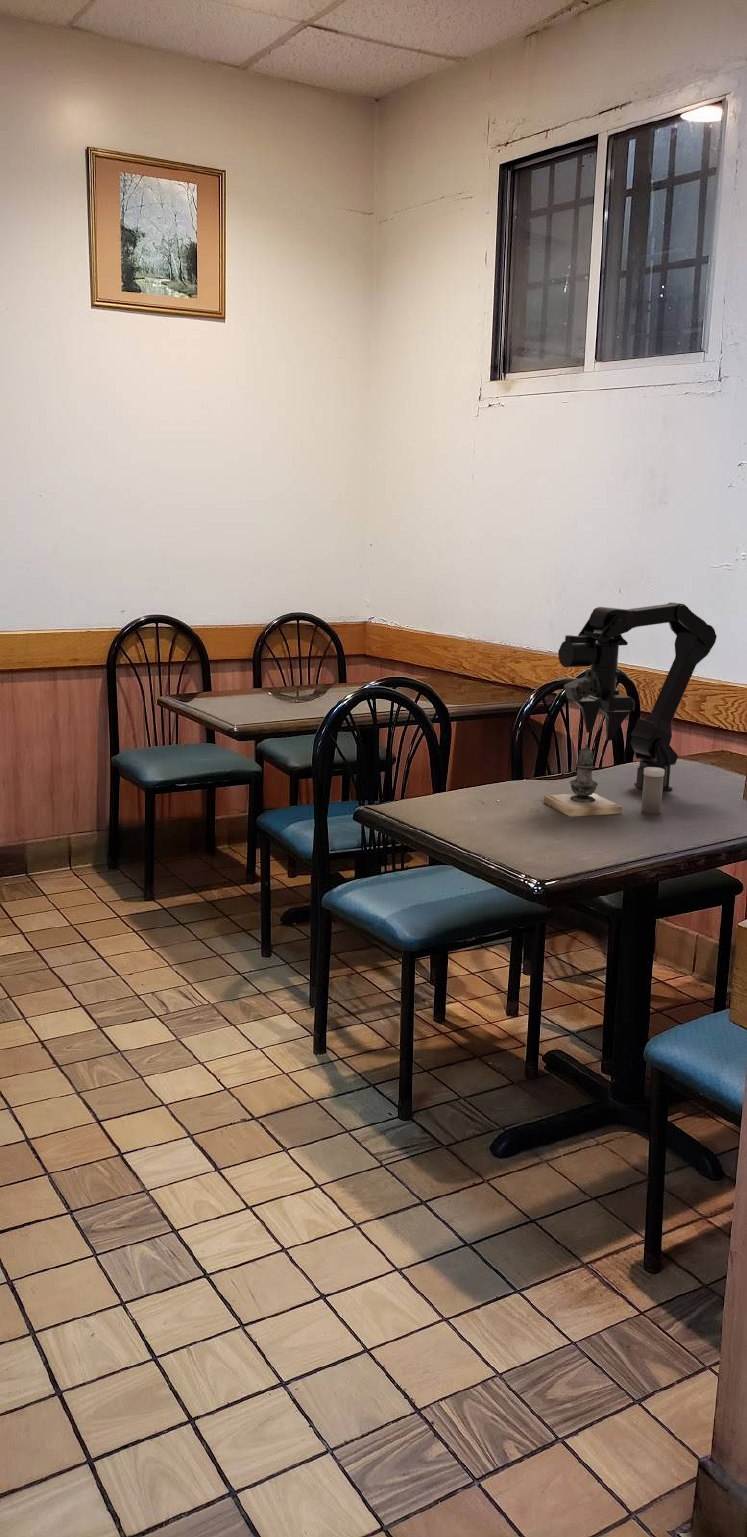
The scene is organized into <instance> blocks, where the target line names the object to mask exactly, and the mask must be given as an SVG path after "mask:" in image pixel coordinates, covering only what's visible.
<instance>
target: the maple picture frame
mask: <svg viewBox="0 0 747 1537" xmlns="http://www.w3.org/2000/svg"><path fill="white" fill-rule="evenodd" d="M574 795H577V794H575V793H563V794H562V793H560V794H549V795H544V797H543V803H544V804H546V805H548V806H550V807H551V806H552V808H553V809H555V810H557V811H558V812H561V814H564V815H566V816H568V817H586V816H587V817H588V816H589V817H590V816H600V815H601V816H602V815H606V816H607V815H619V814H622V812H623V810H622V808H623V806H621V805H620V804H617V802H613V801H612V800H609V799H607V798H605V797H603V796H601V795H599V794H597V793H595V792H594V793H593V794H592V795H588V796H591V797H593V798H594V799H595V802H590V803H582V802H575V801H572V800H571V799H570V798H571V797H572V796H574Z"/></svg>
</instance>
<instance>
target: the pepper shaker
mask: <svg viewBox="0 0 747 1537" xmlns="http://www.w3.org/2000/svg"><path fill="white" fill-rule="evenodd" d="M664 771H665V770H664V769H662V768H657V767H646V768H644V781H643V789H642V794H641V807H640V809H641V810H640V812H641V813H644V814H646V815H659V814H661V810H662V802H663V801H662V800H663V799H662V798H663V791H662V789H663V777H664Z"/></svg>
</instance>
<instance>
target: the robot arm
mask: <svg viewBox="0 0 747 1537" xmlns="http://www.w3.org/2000/svg"><path fill="white" fill-rule="evenodd" d="M667 623H668V625H669V628H670V630H671V631H672V632H673V634H674V635H676V637H675V641H674V653H675V657H674V659H673V661H672V664H671V667H670V669H669V671H668V673H667V676H666V677H665V680H664V682H663V685H662V687H661V689H660V692H659V694H658V696H657V698H656V700H655V703H654V705H653V708H652V710H651V712H650V714H649V715H648V716H646V718H644V719H642V718H638V719H637V721H635V722H636V723H635V725H634V729H633V730H632V731H631V732H630V735H631V738H630V744H631V747H632V749H633V752H634V756H635V759H637V760H639V766H638V767H637V769H636V770H637V772H636V773H637V774H636V782H634V786H636V787H638V788H639V789H641V790H643V781H644V768H646V767H657V768H662V769H664V770H665V771H664V777H663V789H662V792H664V791H673V787H672V786H670V778H671V766H674V765H676V764H677V761H678V757H679V755H678V754H677V753H676V752H675V750H674V749H673V748H672V747H671V745H670V744H671V741H672V737H673V732H672V721H673V719H674V716H675V715H676V712H677V710H678V708H679V705H680V703H681V701H682V699H683V696H684V694H685V692H686V689H687V687H688V685H689V682H690V680H691V679H692V675H693V673H694V670H695V669H696V666H697V665H698V664H699V663H700V662H701V661H703V659H705V658H706V657H708V655H709V653H710V652H711V651H712V649H713V647H714V645H715V644H716V641H717V637H718V636H717V634H716V631H715V628H714V627H713V626H712V625H710V624H708V623H707V622H706V621H705V620H704V619H702V618H701V617H700V616H698V615H697V614H696V613H694V612H693V611H692V610H691V609H690V608H689V607H688V605H687V604H684V603H677V602H668V603H664V604H659V605H658V604H657V605H651V606H649V605H648V606H642V607H635V608H629V609H628V608H627V609H625V608H616V607H606V606H605V607H603V606H598V607H595V608H593V610H592V612H591V614H590V616H589V618H588V620H587V622H585V624H584V626H583V627H582V629H581V630H580V631H579V633H578V635H569V634H568V635H567V634H566V635H565V636H564V637H565V638H564V641H563V642H561V645H560V646H559V649H558V653H557V654H558V661H559V663H560V665H561V666H562V667H563V668H583V667H584V668H585V667H590V669H589V668H587V669H586V670H585V671H584V676H583V677H580V678H577V679H575V680H572V681H569V682H567V683H565V684H564V685H563V689H564V691H565V694H566V698H567V700H572V702H573V703H575V704H576V705H577V706H578V707H579V709H580V711H581V714H582V719H583V723H584V727H585V732H586V733H589V734H591V733H592V732H593V730H594V727H595V724H596V721H597V717H598V714H599V711H600V712H601V713H602V714H603V716H605V735H606V737H605V738H606V741H613V739H614V737H615V735H616V734H617V732H618V731H619V728H620V727H621V726H622V724H623V722H624V721H625V719H626V718H627V716H628V715H629V714H631V712H632V711H635V706H636V701H635V699H633V697H632V696H629V695H626V694H620V690H618V689H617V677H620V678H621V671H618V660H619V650H620V648H619V647H620V646H627V645H628V641H627V640H626V639H625V638H624V637H623V634H626V633H628V632H630V631H631V630H632V629H635V628H638V627H644V626H653V625H661V624H667ZM600 708H602V709H600Z"/></svg>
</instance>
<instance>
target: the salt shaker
mask: <svg viewBox="0 0 747 1537" xmlns="http://www.w3.org/2000/svg"><path fill="white" fill-rule="evenodd" d="M593 754H594V752H593V750H592V749H591V748H589V745H588V744H587V743H585V745H584V747H583V748H581V749H579V750H578V760H577V761H578V763H577V764H575V765H576V767H577V772H576V777H575V778H574V780H573V779H572V780H570V781H569V784H570V788H571V791H572V792H573V794H577V795H574V796H572V797H571V798H570V799H571V800H572V801H575V802H582V803H590V802H595V799H594V798H593V797H591V796H588V795H592V794H593V793H595V792H596V790H597V787H598V785H599V783H597V781H594V780H593V777H592V776H593V775H592V774H593V768H594V767H595V765H594V764H593V757H594V756H593Z"/></svg>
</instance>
